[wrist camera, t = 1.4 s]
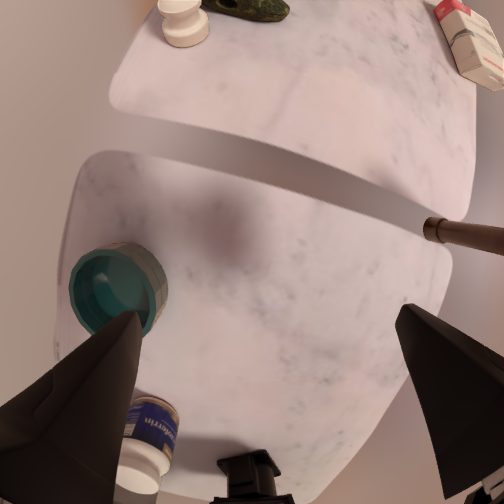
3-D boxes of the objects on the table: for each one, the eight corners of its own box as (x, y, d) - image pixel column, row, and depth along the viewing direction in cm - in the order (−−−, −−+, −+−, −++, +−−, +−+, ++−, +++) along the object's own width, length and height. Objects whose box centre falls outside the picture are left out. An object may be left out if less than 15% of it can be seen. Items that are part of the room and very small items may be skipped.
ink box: (431, 9, 18) (457, 75, 20) (449, -6, 14) (482, 64, 15) (470, 30, 19) (493, 94, 21) (487, 19, 14) (516, 87, 16)
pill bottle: (191, 421, 25) (179, 492, 15) (155, 436, 25) (137, 500, 15) (153, 386, 24) (126, 457, 14) (120, 404, 24) (89, 467, 14)
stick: (440, 236, 23) (589, 272, 5) (425, 244, 23) (581, 290, 5) (436, 213, 23) (591, 235, 5) (420, 221, 23) (585, 250, 5)
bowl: (182, 311, 23) (173, 331, 19) (113, 334, 23) (96, 354, 19) (146, 228, 21) (129, 233, 17) (79, 260, 21) (55, 270, 17)
